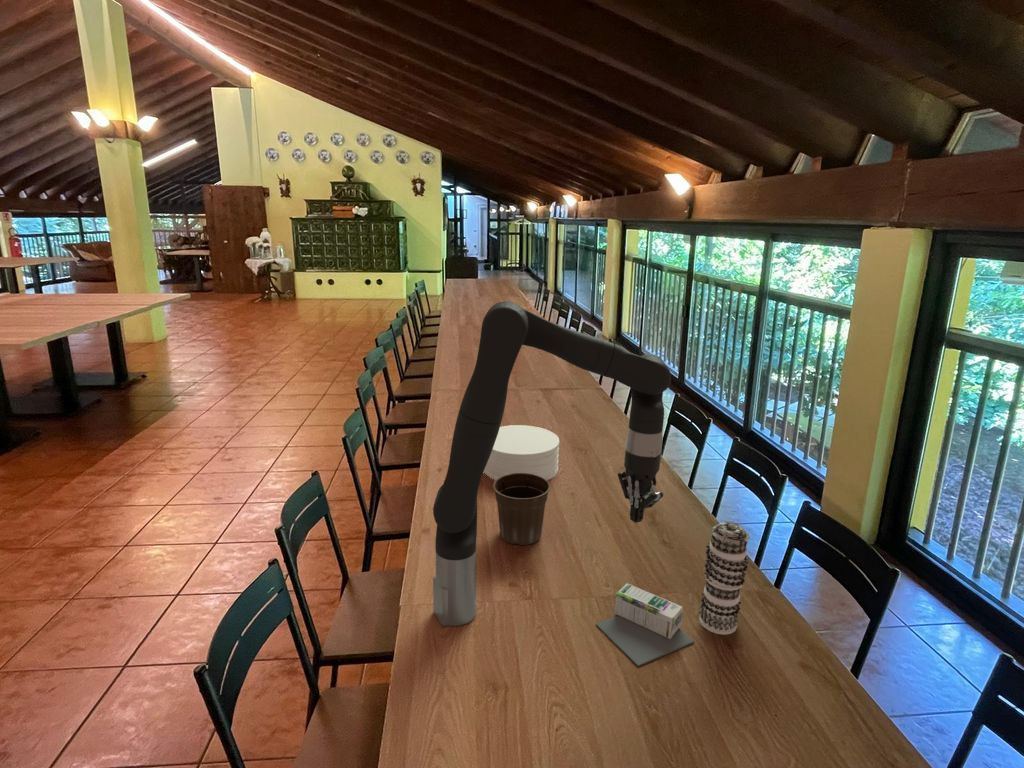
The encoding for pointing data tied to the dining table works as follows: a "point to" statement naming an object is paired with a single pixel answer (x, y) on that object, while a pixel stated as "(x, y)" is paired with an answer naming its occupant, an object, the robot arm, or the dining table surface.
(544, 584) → the dining table surface
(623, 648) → the mat
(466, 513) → the robot arm
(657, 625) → the syrup box
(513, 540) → the plant pot
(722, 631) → the decorative candle
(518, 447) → the plate stack
